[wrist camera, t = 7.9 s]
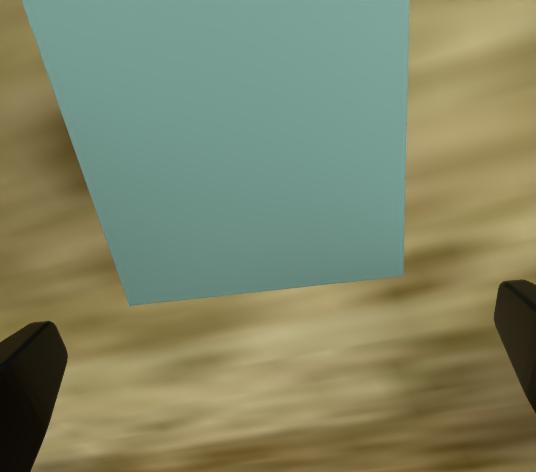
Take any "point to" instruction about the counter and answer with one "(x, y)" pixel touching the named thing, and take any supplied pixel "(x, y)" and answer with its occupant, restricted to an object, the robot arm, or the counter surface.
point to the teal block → (236, 137)
